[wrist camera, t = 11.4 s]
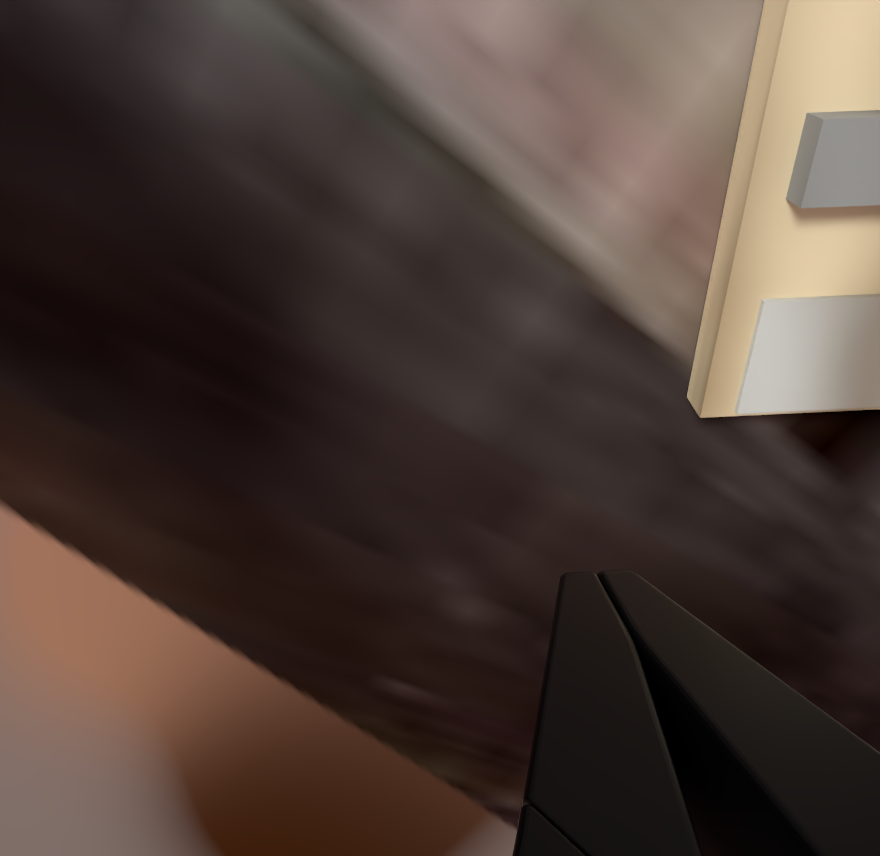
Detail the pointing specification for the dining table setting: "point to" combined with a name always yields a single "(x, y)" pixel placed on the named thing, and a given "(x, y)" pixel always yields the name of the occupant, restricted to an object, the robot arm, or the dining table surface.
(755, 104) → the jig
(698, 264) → the dining table surface
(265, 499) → the dining table surface
